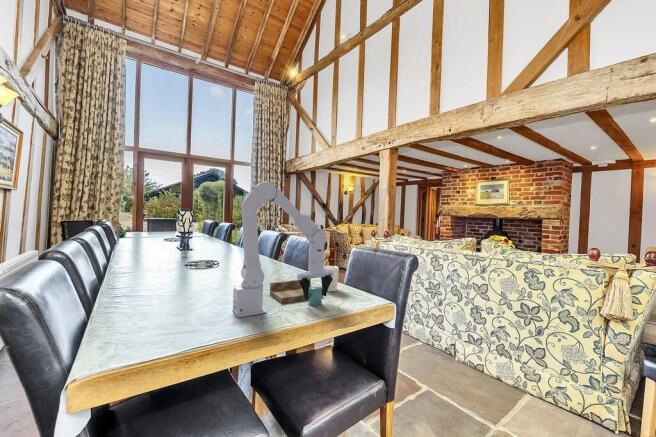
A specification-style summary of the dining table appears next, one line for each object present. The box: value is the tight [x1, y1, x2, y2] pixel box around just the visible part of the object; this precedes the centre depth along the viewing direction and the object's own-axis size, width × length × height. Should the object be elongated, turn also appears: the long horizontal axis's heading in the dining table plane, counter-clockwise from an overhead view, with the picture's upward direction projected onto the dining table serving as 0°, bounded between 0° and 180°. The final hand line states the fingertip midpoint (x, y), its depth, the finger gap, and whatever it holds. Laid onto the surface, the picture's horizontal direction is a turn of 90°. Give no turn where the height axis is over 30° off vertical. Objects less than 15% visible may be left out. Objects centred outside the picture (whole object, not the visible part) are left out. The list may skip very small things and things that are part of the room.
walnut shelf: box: [269, 278, 324, 304], centre depth 115 cm, size 18×12×5 cm, turn 122°
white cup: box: [320, 265, 340, 293], centre depth 125 cm, size 8×8×10 cm
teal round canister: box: [307, 286, 323, 307], centre depth 106 cm, size 5×5×6 cm
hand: (315, 297), depth 106 cm, fingers open, 7 cm apart
